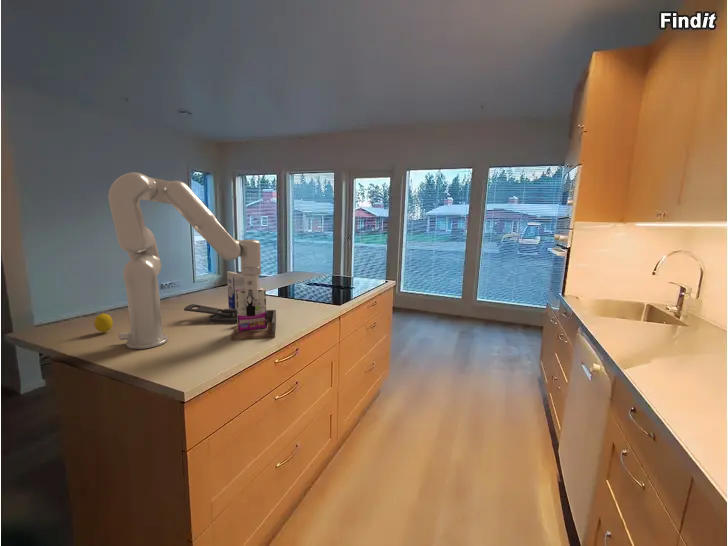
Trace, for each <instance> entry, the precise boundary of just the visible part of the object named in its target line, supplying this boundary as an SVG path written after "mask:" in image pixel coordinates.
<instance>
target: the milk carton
mask: <svg viewBox="0 0 728 546" xmlns="http://www.w3.org/2000/svg"><path fill="white" fill-rule="evenodd" d="M226 274H227V276H226V277H227V299H228V302H227V303H228V309H237V303H236V290H241V289H245V288H244V276H243V275H241V270H237V272H235V271H226Z"/></svg>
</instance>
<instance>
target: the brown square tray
mask: <svg viewBox="0 0 728 546" xmlns="http://www.w3.org/2000/svg"><path fill="white" fill-rule="evenodd" d="M266 317H267V328H265V329H257V330H249V331H241V332H239V331H238V323H236V326H235V328H234V331H233V333H232V335H231V338H230V339H231V340H232V341H234V340H235V341H238V340H240V341H241V340H254V339H255V338H258V339H272V338H274V339H275V338H276V332H275V331H277V329H276V328H277V310H276V309H266Z"/></svg>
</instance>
